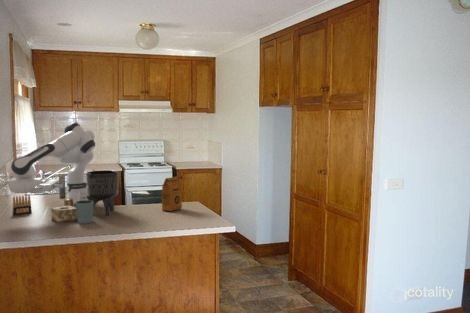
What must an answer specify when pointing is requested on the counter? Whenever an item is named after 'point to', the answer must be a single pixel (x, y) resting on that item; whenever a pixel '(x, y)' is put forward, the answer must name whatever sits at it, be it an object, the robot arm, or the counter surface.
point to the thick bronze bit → (69, 202)
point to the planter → (103, 188)
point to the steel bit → (62, 189)
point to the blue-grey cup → (84, 211)
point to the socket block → (64, 214)
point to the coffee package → (171, 195)
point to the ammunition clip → (21, 206)
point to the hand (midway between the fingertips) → (63, 185)
